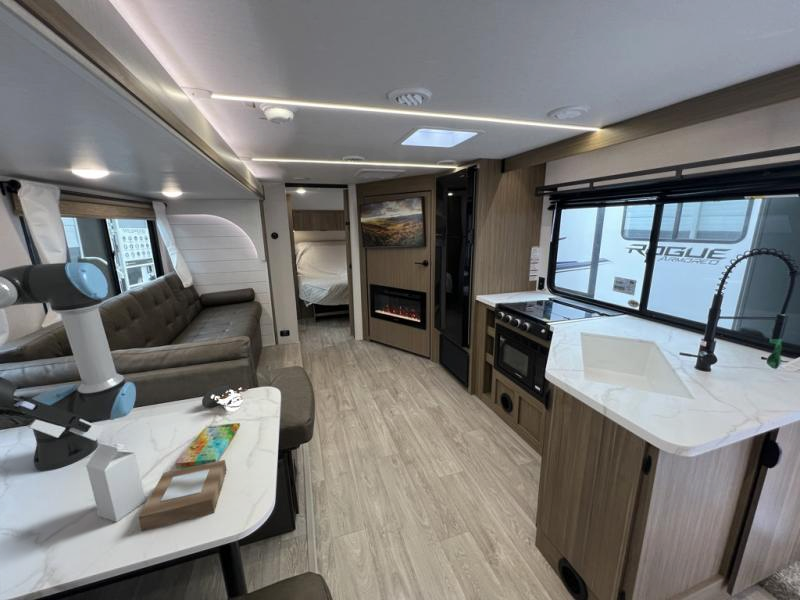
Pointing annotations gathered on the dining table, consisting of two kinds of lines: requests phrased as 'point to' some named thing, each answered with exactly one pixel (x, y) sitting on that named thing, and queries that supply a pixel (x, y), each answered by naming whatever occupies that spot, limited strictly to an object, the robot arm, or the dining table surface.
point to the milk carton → (115, 481)
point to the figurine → (223, 398)
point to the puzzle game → (208, 445)
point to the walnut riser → (184, 495)
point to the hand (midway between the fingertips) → (80, 433)
